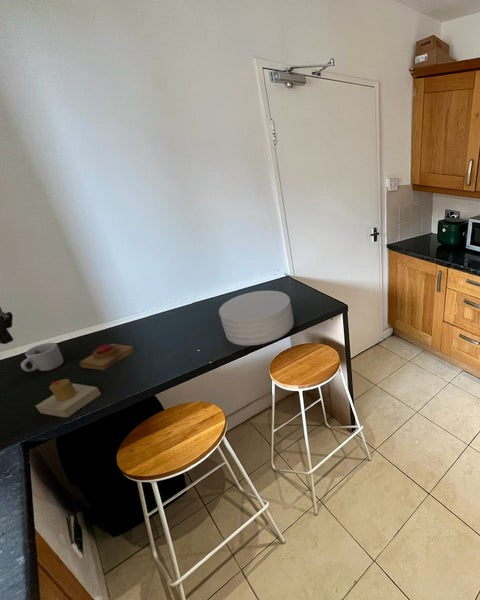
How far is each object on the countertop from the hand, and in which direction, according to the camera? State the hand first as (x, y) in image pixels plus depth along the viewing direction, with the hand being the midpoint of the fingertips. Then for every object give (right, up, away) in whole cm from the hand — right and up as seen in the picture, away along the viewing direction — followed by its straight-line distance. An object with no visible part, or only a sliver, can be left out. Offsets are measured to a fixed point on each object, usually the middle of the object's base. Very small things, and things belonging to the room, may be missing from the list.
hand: (7, 342), depth 85 cm
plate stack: (+45, -1, +54) cm, 70 cm away
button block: (-4, -11, +34) cm, 36 cm away
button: (-4, -8, +32) cm, 33 cm away
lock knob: (+3, -19, +12) cm, 22 cm away
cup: (-21, -14, +28) cm, 38 cm away
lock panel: (+3, -21, +13) cm, 25 cm away
